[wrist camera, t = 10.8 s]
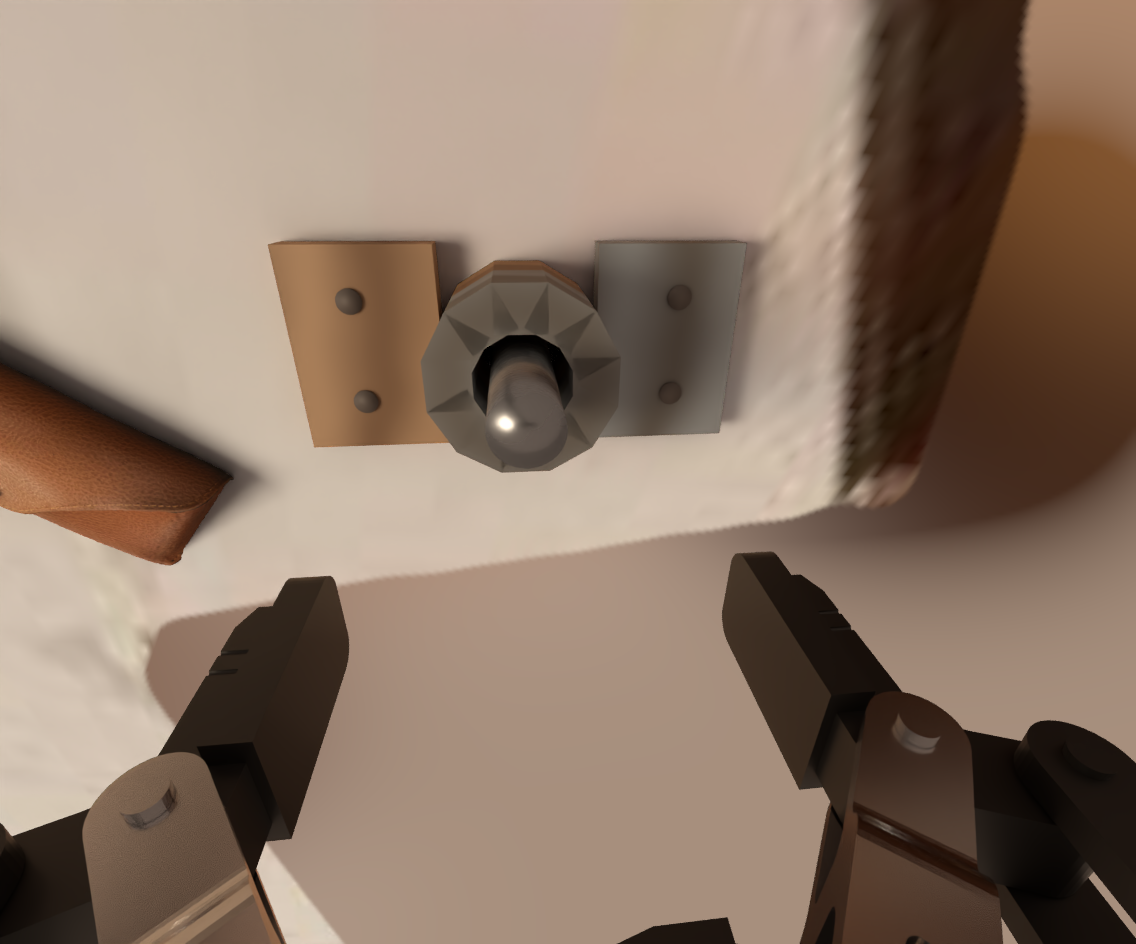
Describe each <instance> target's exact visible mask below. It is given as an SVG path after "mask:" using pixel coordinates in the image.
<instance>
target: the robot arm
mask: <svg viewBox="0 0 1136 944" xmlns="http://www.w3.org/2000/svg"><path fill="white" fill-rule="evenodd" d="M722 622H723V628H724V633H725V637H726V639H727V642H728V644H729V646H730V648H731V650H732V652H733V654H734V656H735V658H736V660H737V662H738V664H739V666H740V669H741V671H742V673H743V675H744V677H745V679H746V681H747V683H748V685H749V687H750V689H751V691H752V693H753V695H754V697H755V699H756V702H757V704H758V706H759V708H760V710H761V712H762V714H763V716H764V718H765V720H766V722H767V724H768V726H769V728H770V730H771V732H772V734H773V736H774V738H775V741H776V743H777V745H778V747H779V749H780V751H781V752H782V755H783V757H784V759H785V761H786V763H787V765H788V767H789V769H790V771H791V773H792V776H793V778H794V780H795V781H796V784H797V786H798V788H799V789H810V788H820V787H823V788H824V790H825V792H826V794H827V796H828V798H829V800H830V804H829V807H828V810H827V813H826V819H825V824H824V829H823V835H822V840H821V845H820V851H819V856H818V861H817V867H816V873H815V877H814V883H813V888H812V893H811V899H810V905H809V909H808V915H807V919H806V923H805V927H804V930H803V934H802V937H801V941H800V944H1003V935H1002V922H1001V917H1002V919H1003V920H1004V922H1005V924H1006V925H1007V927H1008V928H1009V930H1010V932H1011V933H1012V935H1013V936H1014V938H1015V940H1016V941H1017V943H1018V944H1136V938H1135V937H1134V935H1133V934H1132V933H1131V932H1130V930H1129V929H1128V928H1127V927H1126V925H1125V924H1124V923H1123V921H1122V920H1121V919H1120V918H1119V917H1118V915H1117V914H1116V912H1115V911H1114V910H1113V909H1112V907H1111V906H1110V905H1109V904H1108V902H1107V901H1106V900H1105V898H1104V897H1103V896H1102V895H1101V894H1100V892H1099V891H1098V890H1097V888H1096V887H1095V886H1094V884H1093V883H1092V882H1091V881H1090V880H1089V878H1088V877H1089V876H1090V875H1091V874H1092V873H1093V872H1095V874H1096V875H1097V876H1098V877H1099V879H1100V880H1101V881H1102V882H1103V884H1104V885H1105V886H1106V887H1107V889H1108V890H1109V891H1110V892H1111V894H1112V895H1113V896H1114V897H1115V899H1116V900H1117V901H1118V902H1119V904H1120V905H1121V906H1122V907H1123V908H1124V910H1125V911H1126V912H1127V913H1128V915H1129V916H1130V917H1131V919H1132V920H1133V921H1134V922H1135V923H1136V763H1135V762H1134V761H1133V760H1132V759H1131V758H1130V757H1129V756H1127V755H1126V754H1125V753H1124V752H1123V751H1121V750H1120V749H1119V748H1117V747H1116V746H1115V745H1113V744H1112V743H1110V742H1109V741H1107V740H1106V739H1104V738H1102V737H1100V736H1098V735H1097V734H1095V733H1092V732H1090V731H1088V730H1086V729H1084V728H1081V727H1079V726H1075V725H1073V724H1069V723H1065V722H1060V721H1050V720H1047V721H1040V722H1037V723H1035V724H1033V725H1032V726H1031V727H1030V728H1029V730H1028V731H1027V733H1026V735H1025V736H1024V738H1023V740H1022V741H1017V740H1013V739H1008V738H1002V737H997V736H993V735H988V734H982V733H977V732H972V731H968V730H964V729H962V727H961V726H960V725H959V724H958V722H956V720H955V719H953V718H952V717H951V716H950V715H949V714H948V713H947V712H945V711H944V710H943V709H941V708H940V707H938V706H937V705H935V704H934V703H932V702H930V701H928V700H926V699H924V698H921V697H919V696H916V695H913V694H910V693H905V692H902V691H901V690H900V688H899V687H898V686H897V684H896V683H895V682H894V681H893V679H892V678H891V677H890V675H889V674H888V673H887V672H886V670H885V669H884V668H883V667H882V665H881V664H880V663H879V662H878V660H877V659H876V658H875V656H874V655H873V654H872V652H871V651H870V650H869V649H868V647H867V646H866V645H865V643H864V642H863V641H862V640H861V638H860V637H859V636H858V634H857V633H856V632H855V631H854V630H851V625H850V624H849V623H848V622H847V620H846V619H845V618H844V617H843V615H842V614H839V613H838V609H837V608H836V606H835V605H834V604H833V602H832V601H831V600H830V599H829V598H828V596H827V595H826V594H825V592H824V591H823V590H822V589H820V588H819V587H818V586H816V585H815V584H813V583H812V582H810V581H809V580H808V579H806V578H805V577H803V576H802V575H791V574H790V572H789V571H788V570H787V568H786V567H785V566H784V564H783V563H782V561H781V560H780V559H779V557H778V556H777V555H776V554H775V553H774V552H755V553H737V554H735V555H734V557H733V558H732V561H731V566H730V571H729V577H728V583H727V588H726V593H725V599H724V604H723V610H722ZM348 655H349V638H348V632H347V628H346V624H345V620H344V615H343V611H342V607H341V603H340V599H339V595H338V591H337V587H336V583H335V581H334V579H333V577H331V576H320V577H303V578H290V579H288V580H287V581H286V582H285V584H284V586H283V588H282V590H281V591H280V593H279V595H278V597H277V599H276V601H275V602H274V604H273V606H270V607H258V608H257V609H256V610H255V611H254V612H253V613H251V614H250V615H249V616H248V617H247V618H246V619H245V620H243V621H242V622H241V623H240V624H239V625H238V626H237V627H235V629H234V630H233V632H232V634H231V635H230V637H229V639H228V640H227V642H226V644H225V645H224V647H223V649H222V650H221V656H218V657H217V659H216V660H215V662H214V664H213V665H212V667H211V669H210V670H209V676H206V677H205V679H204V680H203V682H202V684H201V685H200V687H199V689H198V690H197V692H196V694H195V696H194V697H193V699H192V700H191V702H190V704H189V705H188V707H187V709H186V710H185V712H184V714H183V716H182V717H181V719H180V720H179V722H178V724H177V725H176V727H175V729H174V730H173V732H172V734H171V735H170V737H169V739H168V740H167V742H166V744H165V745H164V747H163V749H162V750H161V752H160V753H159V755H158V756H157V757H154V758H151V759H149V760H147V761H145V762H143V763H140V764H139V765H137V766H135V767H133V768H132V769H130V770H128V771H127V772H126V773H124V774H123V775H121V776H120V777H119V778H117V779H116V780H115V781H114V782H113V783H112V784H110V785H109V786H108V787H107V788H106V789H105V790H104V792H103V793H102V794H101V795H100V796H99V797H98V799H97V800H96V801H95V802H94V804H93V805H92V807H91V808H90V809H87V810H85V811H82V812H80V813H77V814H74V815H71V816H68V817H65V818H63V819H60V820H57V821H54V822H51V823H48V824H46V825H43V826H40V827H37V828H34V829H31V830H29V831H26V832H23V833H20V834H17V835H15V836H11V835H10V834H9V832H8V831H7V830H6V829H5V827H4V826H3V825H2V824H1V823H0V944H286V942H285V939H284V937H283V934H282V932H281V929H280V927H279V924H278V922H277V919H276V916H275V914H274V911H273V909H272V906H271V904H270V901H269V899H268V896H267V894H266V891H265V889H264V886H263V884H262V881H261V879H260V876H259V873H258V871H257V869H256V868H257V865H258V862H259V859H260V856H261V854H262V851H263V848H264V845H265V842H266V841H275V840H285V839H291V838H292V835H293V832H294V829H295V826H296V823H297V820H298V817H299V814H300V811H301V807H302V804H303V801H304V798H305V795H306V791H307V789H308V786H309V782H310V779H311V776H312V773H313V770H314V767H315V764H316V761H317V758H318V754H319V751H320V748H321V745H322V742H323V739H324V736H325V733H326V730H327V727H328V723H329V720H330V717H331V714H332V711H333V707H334V705H335V702H336V699H337V695H338V692H339V689H340V686H341V683H342V680H343V677H344V674H345V671H346V667H347V662H348ZM618 944H736V943H735V941H734V938H733V934H732V931H731V927H730V924H729V921H728V918H727V917H726V918H719V919H710V920H702V921H694V922H686V923H678V924H669V925H661V926H653V927H651V928H649V929H647V930H645V931H643V932H641V933H639V934H637V935H635V936H632V937H630V938H628V939H626V940H624V941H622V942H620V943H618Z"/></svg>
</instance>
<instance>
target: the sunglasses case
mask: <svg viewBox="0 0 1136 944" xmlns="http://www.w3.org/2000/svg"><path fill="white" fill-rule="evenodd" d="M233 479H234V478H233V477H232V476H230V475H228V474H227V473H226V472H225V471H223V470H222V469H220V468H218V467H216V466H214V465H212V464H210V463H208V462H205V461H203V460H201V459H199V458H197V457H195V456H193V455H191V454H189V453H187V452H184V451H182V450H180V449H177V448H175V447H173V446H170V445H168V444H166V443H164V442H162V441H160V440H158V439H156V438H153V437H151V436H149V435H146V434H144V433H142V432H140V431H138V430H137V429H135V428H133V427H131V426H129V425H126V424H124V423H122V422H120V421H117V420H115V419H113V418H111V417H108V416H106V415H104V414H102V413H99V412H97V411H95V410H93V409H92V408H90V407H89V406H87V405H85V404H83V403H80V402H78V401H76V400H74V399H72V398H70V397H68V396H67V395H65V394H63V393H61V392H59V391H57V390H55V389H53V388H51V387H49V386H47V385H45V384H43V383H41V382H39V381H37V380H35V379H33V378H31V377H29V376H27V375H24V374H22V373H20V372H18V371H16V370H14V369H12V368H10V367H8V366H6V365H4V364H2V363H0V506H1V507H3V508H6V509H9V510H11V511H14V512H18V513H23V514H34V515H37V516H39V517H41V518H43V519H46V520H48V521H50V522H53V523H55V524H58V525H59V526H61V527H64V528H66V529H69V530H71V531H73V532H76V533H78V534H80V535H82V536H85V537H88V538H90V539H93V540H95V541H97V542H100V543H103V544H105V545H108V546H111V547H113V548H116V549H118V550H121V551H123V552H126V553H129V554H131V555H133V556H136V557H139V558H142V559H145V560H148V561H151V562H154V563H159V564H164V565H173V564H175V563H176V562H178V561H179V560H181V555H182V554H183V549H184V548H185V546H186V544H187V543H188V542H189V540H190V539H191V537H192V536H193V534H194V533H195V531H196V529H197V528H198V527H199V525H200V524H201V522H202V520H203V519H204V518H205V515H206V514H207V513H208V511H209V510H210V508H211V507H212V505H213V504H214V502H215V501H216V499H217V497H218V495H219V494H220V493H221V491H222V489H223V487H224V486H225V485H226V484H227V483H228V482H229V481H230V480H233Z"/></svg>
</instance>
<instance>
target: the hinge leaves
mask: <svg viewBox="0 0 1136 944" xmlns="http://www.w3.org/2000/svg"><path fill="white" fill-rule="evenodd" d="M746 246H747V243H744V242H740V241H595V262H594V300H593V306H592V304H591V303H590V301H589V300H588V299H587V297H586V296H585V294H584V293H583V291H582V290H581V289H580V287H579V286H578V284H577V283H576V282H574V281H572V280H571V279H569V278H567V277H566V276H564V275H562V274H561V273H559V272H557V271H556V270H554V269H552V268H551V267H549V266H547V265H546V264H544V263H542V262H541V261H539V260H533V261H493V262H492V263H490V264H489V265H487V266H486V267H484V268H482V269H481V270H479V271H478V272H476V273H475V274H473V275H471V276H470V277H468V278H467V279H465V280H464V281H462V282H460V283H459V284H458V285H457V287H456V289H455V291H454V293H453V295H452V297H451V299H450V301H449V303H448V305H447V307H446V309H445V311H444V313H443V315H442V305H441V295H440V285H439V274H438V264H437V254H436V244H435V241H311V242H276V243H272V244H268V248H269V252H270V256H271V261H272V265H273V269H274V274H275V278H276V283H277V287H278V291H279V296H280V300H281V304H282V309H283V313H284V317H285V322H286V326H287V330H288V335H289V339H290V344H291V348H292V352H293V357H294V361H295V365H296V370H297V374H298V378H299V383H300V387H301V391H302V396H303V400H304V404H305V409H306V413H307V418H308V422H309V426H310V431H311V435H312V439H313V444H314V447H337V446H366V445H395V444H423V443H450V444H451V445H452V446H453V448H454V449H455V450H456V452H458V453H460V454H462V455H464V456H467V457H469V458H471V459H473V460H475V461H477V462H480V463H482V464H484V465H486V466H488V467H491V468H493V469H495V470H497V471H499V472H502V473H503V472H528V471H550V470H552V469H554V468H556V467H558V466H559V465H561V464H563V463H565V462H567V461H568V460H570V459H572V458H574V457H576V456H577V455H579V454H581V453H583V452H585V451H586V450H588V449H590V448H592V447H593V445H594V444H595V442H596V441H597V439H598V438H599V437H624V436H652V435H681V434H710V433H719V431H720V424H721V417H722V411H723V404H724V397H725V390H726V383H727V376H728V369H729V362H730V356H731V349H732V342H733V335H734V328H735V321H736V314H737V308H738V301H739V294H740V287H741V280H742V273H743V266H744V259H745V253H746ZM507 335H537V336H539V337H541V338H543V339H545V340H546V341H548V342H550V343H552V344H554V345H555V346H557V347H559V353H558V355H557V357H556V359H555V360H554V362H553V364H552V365H553V369H554V373H555V377H556V381H557V385H558V389H559V393H560V397H561V401H562V405H563V409H564V413H565V417H566V421H567V425H568V435H567V440H566V443H565V445H564V447H563V449H562V451H561V452H560V453H559V454H558V455H557V457H555V458H554V459H553V460H552V461H550V462H549V463H547V464H545V465H543V466H540V467H536V468H529V469H523V468H516V467H512V466H510V465H507V464H506V463H504V462H502V461H501V460H499V459H498V458H497V457H496V456H495V455H494V454H493V452H492V451H491V450H490V448H489V446H488V444H487V440H486V436H485V425H486V414H487V403H488V391H489V380H490V367H489V366H488V364H487V363H486V361H485V360H484V358H483V357H482V355H481V354H482V352H483V350H484V349H485V348H487V347H489V346H490V345H492V344H494V343H495V342H497V341H498V340H500V339H502V338H503V337H505V336H507Z"/></svg>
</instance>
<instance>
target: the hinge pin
mask: <svg viewBox="0 0 1136 944" xmlns="http://www.w3.org/2000/svg"><path fill="white" fill-rule="evenodd" d="M567 435H568V425H567V421H566V417H565V413H564V409H563V405H562V401H561V397H560V393H559V389H558V385H557V381H556V377H555V373H554V369H553V365H552V361H551V357H550V353H549V349H548V345H547V341H546V340H545V339H543V338H541V337H539V336H537V335H507V336H505V337H503V338H502V339H500V340H498V341H497V342H495V343H494V344H493V347H492V358H491V369H490V380H489V391H488V403H487V414H486V425H485V436H486V440H487V444H488V446H489V448H490V450H491V451H492V452H493V454H494V455H495V456H496V457H497V458H498V459H499V460H501V461H502V462H504V463H506V464H507V465H510V466H512V467H516V468H523V469H529V468H536V467H540V466H543V465H545V464H547V463H549V462H550V461H552V460H553V459H554V458H555V457H557V455H558V454H559V453H560V452H561V451H562V449H563V447H564V445H565V443H566V440H567Z"/></svg>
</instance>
